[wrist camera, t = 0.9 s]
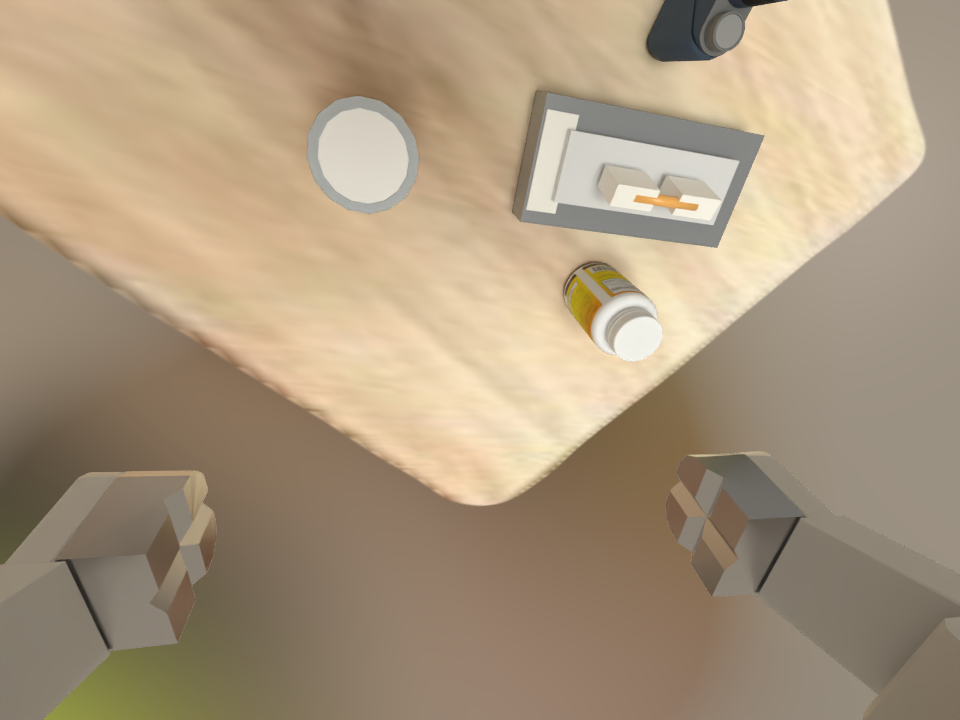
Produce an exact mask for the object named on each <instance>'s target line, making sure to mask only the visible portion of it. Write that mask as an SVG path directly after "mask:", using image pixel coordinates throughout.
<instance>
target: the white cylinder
mask: <svg viewBox="0 0 960 720" xmlns="http://www.w3.org/2000/svg"><path fill="white" fill-rule="evenodd" d="M307 159H308V162H309V165H310V168H311V171H312V174H313V177H314V180H315V181H316V183H317V184H318V185H319V186H320V188H321V189H322V190H323V191H324V193H325V194H326V195H327V196H328V198H329V199H331V200H333V201H334V202H336V203H337V204H339V205H341V206H342V207H344V208H346V209H347V210H351V211H356V212H362V213H367V214H370V213H375V212H380V211H385V210H389V209H390V208H392V207H393V206H395V205H396V204H397V203H399V202H400V201H402V200H403V199H405V197H406V196H407V194H408V192H409V191H410V189H411V188H412V186H413V184H414V183H415V181H416V176H417V170H418V163H419V156H418V151H417V146H416V142H415V137H414V135H413V133H412V132H411V130H410V129H409V127H408V126H407V124H406V122H405V121H404V119H403V118H402V116H401V115H400V114H398V113H397V112H395V111H394V110H393V109H391V108H390V107H389V106H387V105H386V104H385V103H383V102H382V101H378V100H374V99H370V98H366V97H362V96H354V97H349V98H344V99H339V100H336V101H334V102H333V103H332V104H330V105H329V106H328V107H326V108H325V109H324V110H323V111H321V112H320V113H319V114H318V115H317V117H316V119H315V121H314V123H313V125H312V127H311V129H310V131H309V133H308V146H307Z"/></svg>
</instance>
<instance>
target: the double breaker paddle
mask: <svg viewBox="0 0 960 720" xmlns="http://www.w3.org/2000/svg"><path fill="white" fill-rule="evenodd" d="M598 188H599V189H600V191H601V192H602V194H603V196H604V197H605V199H606V201H607V202H608V204H609V206H615V207H621V208H628V209H635V210H642V211H649V212H650V211H651V209H652V207H653V205H654V206H661V207H666V208H667V209H668V210H669V212H670V213H671V214H672V215H676V216H683V217H689V218H696V219H703V220H711V218H712V216H713V215H714V213H715V211H716V210H717V208H718V206H719V205H720V203H721V201H722V200H721V199H720V198H719V197H718V196H717V195H716V194H715V193H714V192H713V191H712V190H711V189H710V187H709V186H708V185H707V184H706V183H705V182H704V181H698V180H692V179H686V178H680V177H674V176H668V175H667V176H666V178H665V180H664V182H663V184H662V186H661V188H660V190H659V188H658V187H657V186H656V185H655V183H654V182H653V181H652V180H651V178H650V177H649V176H648V174H647V173H646V172H644V171H638V170H632V169H626V168H620V167H615V166H609V165H606V166H605V168H604V171H603V173H602V176H601V178H600V181H599V183H598Z"/></svg>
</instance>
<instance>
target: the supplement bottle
mask: <svg viewBox="0 0 960 720" xmlns="http://www.w3.org/2000/svg"><path fill="white" fill-rule="evenodd" d="M564 300H565V304H566V306H567V308H568V309H569V311H570V312H571V313H572V315H573V316H574V317H575V319H576V320H577V321H578V322H579V324H580V325H581V326H582V328H583V329H584V330H585V332H586V333H587V334H588V335H589V337H590V338H591V339H592V340H593V342H594V343H595V344H596V346H597V347H598V348H599V349H600V350H602V351H603V352H605V353H607V354H610V355H617V356H618V357H620V358H621V359H623V360H625V361H631V362H632V361H639V360H642V359H644V358H646V357H648V356H650V355H651V354H652V353H653V352H654V351H655V350H656V349H657V348H658V346H659V345H660V342H661V340H662V335H663V331H662V327H661V325H660V323H659V322H658V314H657V309H656V307H655V305H654V303H653V302H652V301H651V300H650V299H649V298H648V297H647V296H646V295H644V294H643V293H642V292H641V291H640V290H639V289H637V288H636V287H635V286H634V285H633V284H632V283H630V282H629V281H628V280H627V279H626V278H625V277H623V276H622V275H621V274H620V273H619V272H618V271H616V270H615V269H614V268H613V267H611V266H609V265H607V264H604V263H590V264H587V265H584V266H582V267H580V268H579V269H578V270H576V271H575V272H574V273H573V274H572V275H571V276H570V278H569V280H568V281H567V283H566V286H565V289H564Z"/></svg>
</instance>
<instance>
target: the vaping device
mask: <svg viewBox="0 0 960 720" xmlns="http://www.w3.org/2000/svg"><path fill="white" fill-rule="evenodd" d="M781 1H787V0H665V2H664V4H663V6H662V8H661V11H660V13H659V15H658V17H657V19H656V21H655V23H654V25H653V28H652V30H651V32H650V34H649V36H648V41H647V44H648V49H649V51H650V53H651V54H652V55H653V57H655V58H656V59H657V60H660V61H662V62H668V61H701V60H711V59H714V58H716V57H718V56H720V55H722V54H724V53H726V52H727V51H729V50H732V49H733V48H735V47H736V46H737V45H738V43H739V42H740V41H741V39H742V37H743V34H744V30H745V20H746V18H747V16H748V14H749V13H750V11H751V9H752V7H753V6H758V5H764V4H770V3H775V2H781Z"/></svg>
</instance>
